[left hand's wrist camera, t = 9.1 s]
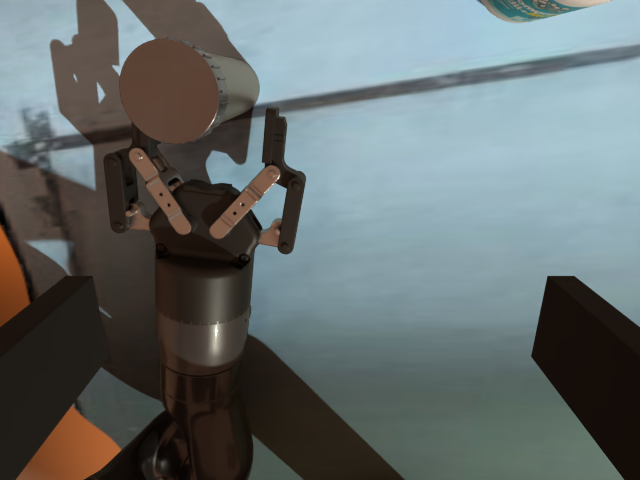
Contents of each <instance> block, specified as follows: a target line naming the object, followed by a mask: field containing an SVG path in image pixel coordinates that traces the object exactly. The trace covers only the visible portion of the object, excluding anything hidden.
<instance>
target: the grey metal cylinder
mask: <svg viewBox="0 0 640 480" xmlns="http://www.w3.org/2000/svg"><path fill="white" fill-rule="evenodd" d="M207 54H209V55H212V56H213V57H212V58H213V59H214V60H215V62H216V63H217V64H218V65H220V66H221V68H220V69H221V71H222V73H223V75H224V77H226V80H225V81H226V84H227V90H229V92H228V102H229V104H227V107H226V111H225V114H226V115H225V116H223V118H222V120H221V121H220V123H222V122H224V121H227V120H229V119H231V118H233V117H236V116H238V115H240V114H243V113H245V112H247V111H249V110H250V109H251V108H252V107H253V106H254V105H255V103H256V101H257V99H258V96H259V90H260V86H259V81H258V78H257V75H256V73H255V72H254V70H253V69H252V68H251V67H250V66H249V65H248V64H247V63H245V62H243V61H241V60H239V59H235V58H230V57H225V56H220V55H216V54H211V53H207Z"/></svg>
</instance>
